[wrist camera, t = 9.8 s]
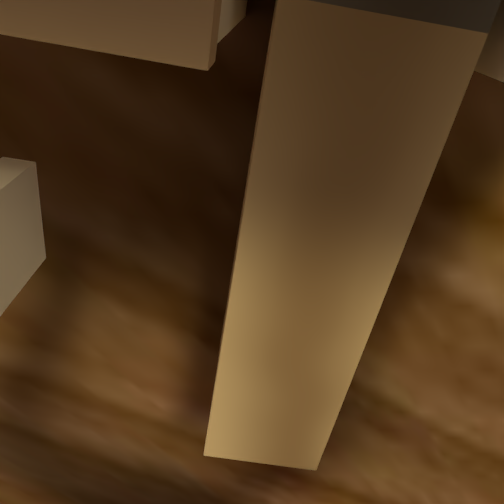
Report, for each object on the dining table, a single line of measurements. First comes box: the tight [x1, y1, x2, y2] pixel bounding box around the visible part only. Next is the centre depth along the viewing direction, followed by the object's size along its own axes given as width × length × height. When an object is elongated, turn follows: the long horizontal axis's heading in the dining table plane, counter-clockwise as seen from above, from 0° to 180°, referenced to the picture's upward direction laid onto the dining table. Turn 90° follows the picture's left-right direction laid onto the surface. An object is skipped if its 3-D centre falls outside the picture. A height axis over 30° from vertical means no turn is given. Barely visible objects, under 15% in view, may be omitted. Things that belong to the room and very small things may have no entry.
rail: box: [204, 0, 501, 471], centre depth 14 cm, size 4×16×6 cm, turn 171°
